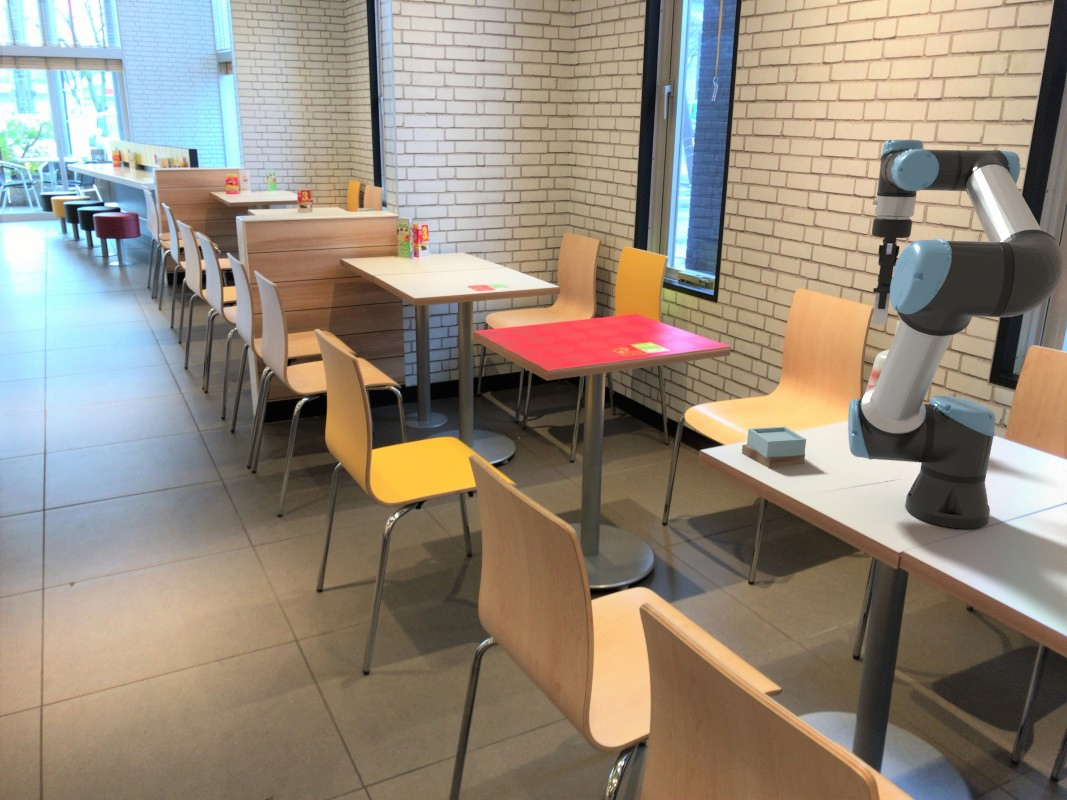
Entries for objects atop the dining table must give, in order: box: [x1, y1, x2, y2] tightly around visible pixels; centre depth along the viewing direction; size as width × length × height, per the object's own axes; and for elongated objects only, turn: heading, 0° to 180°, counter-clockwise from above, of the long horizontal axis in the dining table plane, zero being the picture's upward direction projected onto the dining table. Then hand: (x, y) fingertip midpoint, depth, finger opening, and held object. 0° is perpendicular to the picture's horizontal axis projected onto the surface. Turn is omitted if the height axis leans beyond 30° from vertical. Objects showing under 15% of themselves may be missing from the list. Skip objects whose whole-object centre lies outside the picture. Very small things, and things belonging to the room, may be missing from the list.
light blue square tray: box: [746, 425, 807, 458], centre depth 193 cm, size 10×10×4 cm
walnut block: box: [741, 443, 806, 469], centre depth 195 cm, size 10×10×3 cm
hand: (879, 318), depth 179 cm, fingers open, 13 cm apart
